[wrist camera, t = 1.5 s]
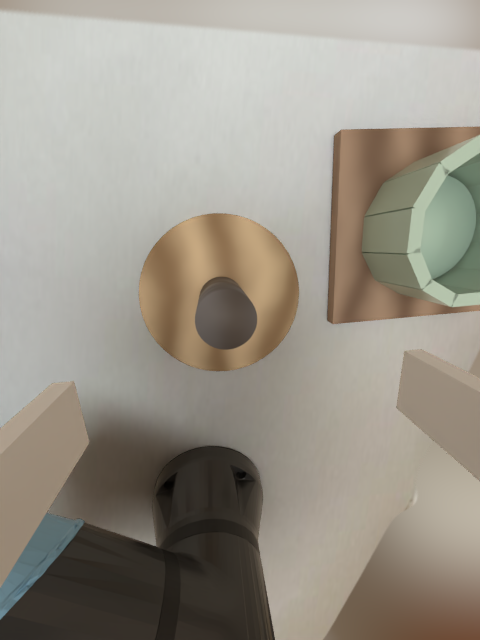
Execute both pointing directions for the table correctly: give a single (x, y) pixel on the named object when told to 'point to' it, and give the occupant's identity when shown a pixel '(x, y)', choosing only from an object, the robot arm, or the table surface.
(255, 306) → the lid
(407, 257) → the bowl
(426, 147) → the serving board
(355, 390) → the table surface
